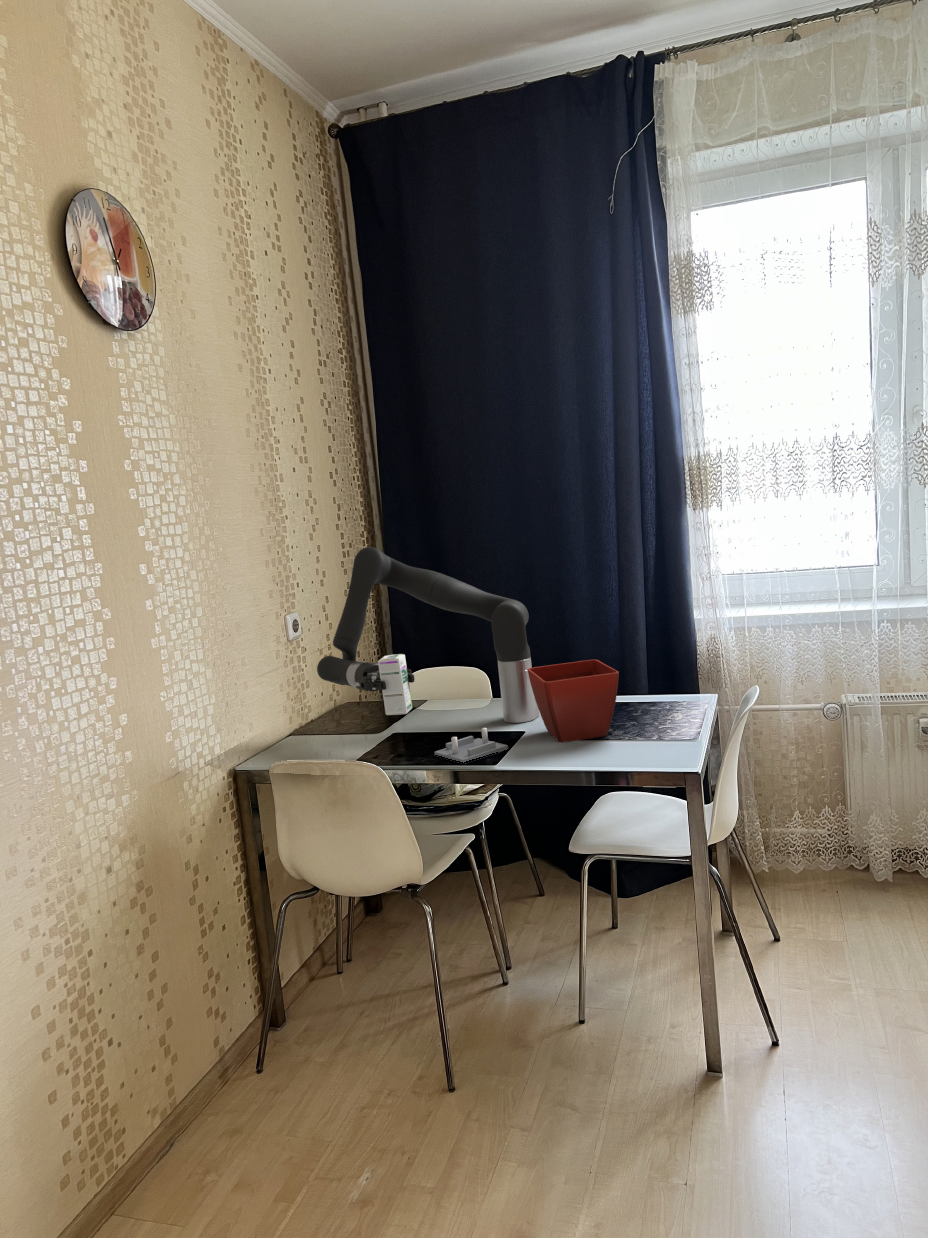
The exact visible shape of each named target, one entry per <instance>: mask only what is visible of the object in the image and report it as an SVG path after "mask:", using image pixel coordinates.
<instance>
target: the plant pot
mask: <svg viewBox="0 0 928 1238" xmlns="http://www.w3.org/2000/svg"><path fill="white" fill-rule="evenodd" d="M527 670H528V675H529V679H530V683H531V687H532V690H533V694H534V697H535V700H536V703H537V706H538V709H539V715H540V717H541V719H542V722H543V724H544V726H545V729H546V730H547V732H548V733H549V734H550V735H551V736H552V737H553V738H554V739H555V740H556V741H557V742H558V743H567V742H568V743H569V742H575V741H580V740H581V741H582V740H590V739H595V737H596V738H602V737H607V736H608V734H609V730H610V728H611V725H612V721H613V717H614V712H615V707H616V703H617V694H618V689H619V688H618V687H619V686H618V685H619V676H620V673H619V672H620V671H618V670H616V669H615V668H613V667H611V666H609V665H607V664H605V663H603V662H602V661H600V660H599V659H588V660H587V659H585V660H579V661H573V662H565V663H557V664H550V665H542V666H535V667H532V668H529V669H527Z"/></svg>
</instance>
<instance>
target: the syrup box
mask: <svg viewBox="0 0 928 1238" xmlns="http://www.w3.org/2000/svg"><path fill="white" fill-rule="evenodd" d="M377 664H378V665H379V672H380V679H381V680H382V681H385V683H386V689H385V690H381V691H382V697H383V704H384V705H383V706H384V713H385V715H386V716H395V715H396V716H399V715H407V714H408V713H409V712H410V711H411V710H412V709H413V701H412V695H411V694H412V693H411V688H410V687H411V686H410V682H409V679H408V673H407V669H408V667H407V661H406V655H405V654H404V653H398V654H397V653H396V654H389V655H384V656H382V658H380V659H379V660H377Z"/></svg>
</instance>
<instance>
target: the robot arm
mask: <svg viewBox="0 0 928 1238" xmlns="http://www.w3.org/2000/svg"><path fill="white" fill-rule="evenodd" d="M375 584H379V585H383V586H387V587H390V588H393V589H396V590H399V591H401V592H404V593H406V594H408V595H409V596H411V597H413V598H415V599H417V600H419V601H421V602H423V603H425V604H428V605H432V606H433V607H436V608H438V609H442V610H444V611H448V612H453V613H458V614H463V615H464V614H465V615H470V616H476V617H479V618H480V619H481V618H482V619H483V620H485V621H488V622H490V623H491V632H492V639H493V640H492V641H493V646H494V651H495V653H496V659H497V668H498V677H499V686H500V687H499V688H500V698H501V707H502V716H503V717H502V718H503V721H504V722H506V723H509V724H510V723H513V724H514V723H515V724H516V723H526V722H527V723H528V722H530V721H533V720H536V718H538V717H540V712H539V709H538V706H537V703H536V700H535V697H534V694H533V690H532V687H531V683H530V679H529V675H528V670H527V669H529V668H533V667H532V659H531V658H532V657H531V656H532V655H531V649H530V646H529V644H528V638H527V630H526V629H527V628H526V625H527V623H528V622H529V618H530V617H529V615H530V614H529V612H528V609H527V607H526V606H525V605H524V604H523V603H522V602H521V601H518V600H516V599H512V598H508V597H505V596H501V595H497V594H494V593H493V594H492V593H490V592H487V591H483V590H482V589H479V588H477V587H475V586H473V585H471V584H468V583H466V582H464V581H461V580H460V579H459V580H458V579H457V578H454V577H451V576H448V575H446V574H444V573H442V572H437V571H435V570H430V569H424V568H419V567H414V566H410V565H407V564H405V563H403V562H401V561H399V560H396V559H395V558H392V557H390V556H388V555H386V554H385V553H384V552H383V551H381V550H380V549H378V548H376V547H372V546H366V547H364V548H361V549H360V550H359V551H358V552H356V555H355V556H354V561H353V566H352V572H351V578H350V583H349V588H348V591H347V595H346V599H345V603H344V607H343V609H342V610H343V611H342V613H341V616H340V620H339V621H338V624H337V628H336V631H335V633H334V636H333V638H332V639H333V641H332V646H333V647H334V648H336V650H339V651H341V656H342V658H340V657H337V656H334V655H326V656H324V657H322V658H321V659H320V660H319V662H318V664H317V667H316V672H317V675H318V677H319V678H320V679H321V680H323V681H327V682H330V683H333V684H337V685H340V686H349V687H353V688H356V690H362V691H364V692H372V693H373V692H374V693H375V692H378V691H382V690H385V689H386V683H385V681H382V680H381V679H380V672H379V665H378V662H370V661H357V652H358V646H359V643H360V640H361V637H362V634H363V631H364V627H365V623H366V619H367V618H366V617H367V611H368V610H367V609H368V603H369V600H370V596H371V594H372V590H373V587H374V586H375ZM407 673H408V679H409V684H410V683H411V684H412V683H414V682H415V674H414V673H412V669H409V668H407Z"/></svg>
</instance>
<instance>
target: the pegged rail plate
mask: <svg viewBox="0 0 928 1238" xmlns="http://www.w3.org/2000/svg"><path fill="white" fill-rule="evenodd" d="M507 749H508V750H509V745H507V744H503V743H500V742H496V741H491V740H489V737H488V728H487V727H482V728H481V738H479V737H477V738H474V736H473V735H469V736H466V737H463V738H460V739H458V737H457V736H452V737H451V741H450V742H446V743H445V747H444V748H442V749H439V750H436V751H434V756H435V755H438V756H442V757H445V758H448V759H452V760H456V761H460V762H463V763H464V762H466V761H469V760H472V759H476V758H479V757H483V756H486V755H489V754H492V753H495V754H497V753H496V752H498V753H502V752H503V751H504V750H505V751H507ZM492 755H493V754H492ZM438 756H437V757H438ZM489 756H490V755H489ZM486 757H487V756H486ZM445 758H444V759H445ZM483 758H484V757H483ZM448 759H447V760H448ZM452 760H451V761H452Z"/></svg>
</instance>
